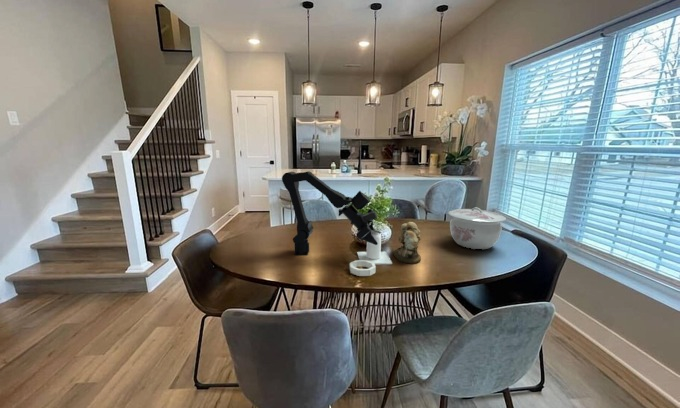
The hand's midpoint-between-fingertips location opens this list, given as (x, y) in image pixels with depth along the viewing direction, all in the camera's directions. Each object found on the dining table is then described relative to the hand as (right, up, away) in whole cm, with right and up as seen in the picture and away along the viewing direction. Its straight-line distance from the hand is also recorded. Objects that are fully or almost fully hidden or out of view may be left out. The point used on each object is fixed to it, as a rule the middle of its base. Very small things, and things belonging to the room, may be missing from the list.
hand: (377, 241), depth 131 cm
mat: (-1, -8, +2) cm, 9 cm away
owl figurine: (+14, -8, +5) cm, 17 cm away
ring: (-8, -11, -11) cm, 17 cm away
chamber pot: (+54, -5, +22) cm, 58 cm away
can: (-2, -8, +2) cm, 8 cm away
